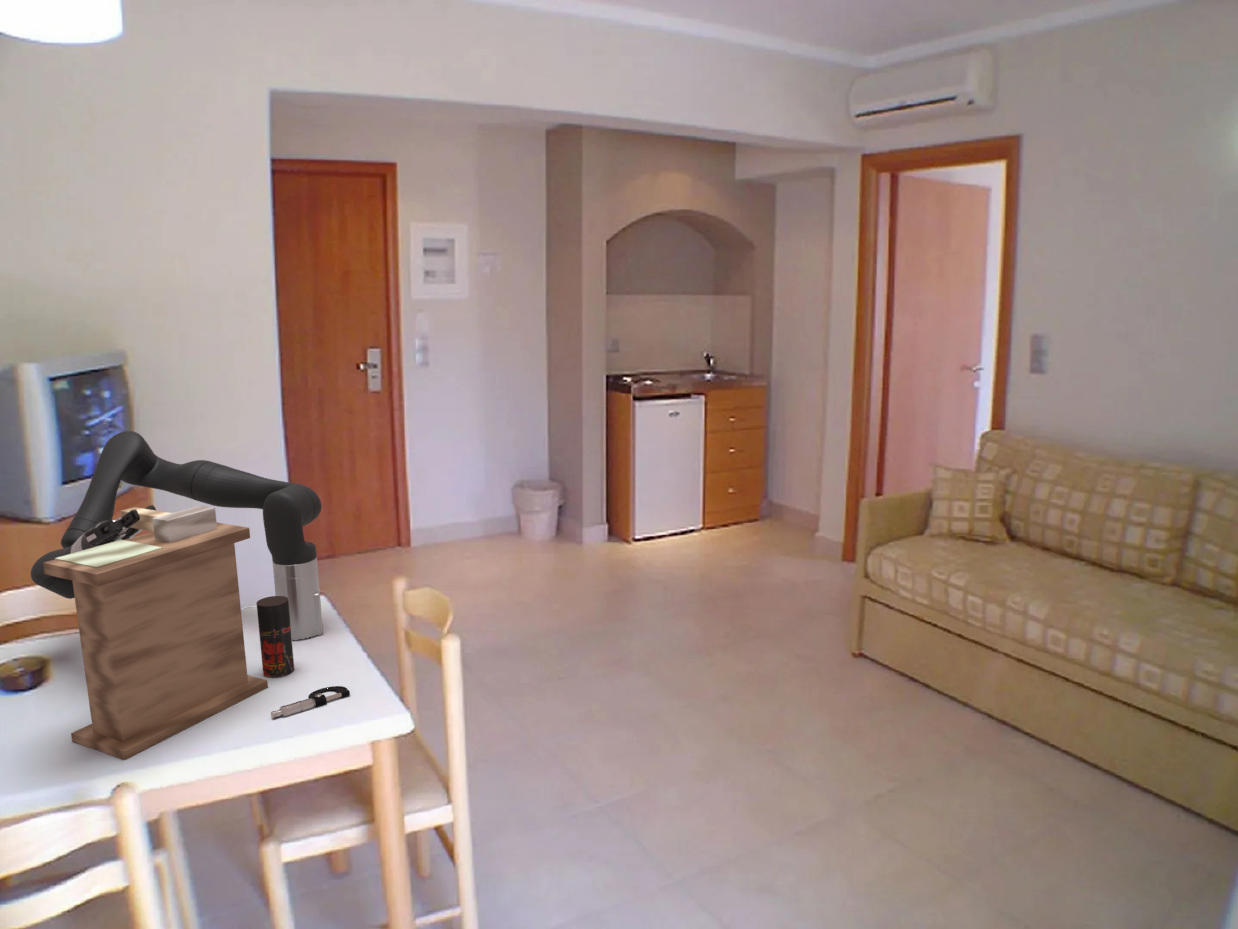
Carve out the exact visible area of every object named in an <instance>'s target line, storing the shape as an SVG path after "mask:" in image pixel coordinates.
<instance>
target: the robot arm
mask: <svg viewBox="0 0 1238 929" xmlns="http://www.w3.org/2000/svg"><path fill="white" fill-rule="evenodd" d="M121 481H122V482H124V483H125V484H129V485H133V486H137V487H142V488H143V487H144V488H150V489H156V490H159V491H165V492H168V493H171V494H175V495H177V496H181V497H185V498H187V499H188V498H189V499H191V500H193V501H197V502H200V503H203V504H207V505H210V506H215V507H217V508H218V507H220V508H227V509H229V508H232V509H233V508H234V509H257V510H262V520H263V527H264V528H263V529H264V533H265V534H264V535H265V541H266V546H267V549H268V551H269V553H270V555H271V559H272V571H273V584H274V592H275V593H274V594H275V595H274V596H284V597H287V598H288V602H289V614H290V625H291V637H292V641H298V639H302V640H304V639H303V638H307V639H310V638H309V637H311V638H313V636H314V637H316V636H315V635H317V636H320V635H319V634H322V633H323V627H322V625H323V615H322V613H323V612H322V601H321V590H320V589H321V588H320V583H319V582H320V581H319V570H318V569H319V568H318V557H317V556H318V555H317V547H316V545H315V544H314V543H313V542H312V541H306V540H305V536H304V528H303V527H305V526H307V525H308V524H310V523H312V522H313V521H315V520H316V519H317V518H318V517H319V515H320V513H321V510H322V500H321V499H320V497H319V495H318V494H317V493H316V491H315V490H313V489H312V488H310V487H309V486H306V485H304V484H301V483H294V482H288V481H284V480H283V481H282V480H276V479H272V478H271V479H270V478H267V477H263V476H259V475H257V474H253V473H250V472H248V471H244V470H240V469H236V468H233V467H231V466H227V465H224V464H221V463H217V462H213V461H210V460H205V459H197V460H192V461H188V462H185V463H182V464H181V463H176V462H172V461H169V460H166V459H164V458H161V457H160V456H158V455H156V454H155V452H154V451H153V450H152V447H150V445H149V444H148V442H147V440H145V438H144V437H143V436H142V435H141V434H140V433H138V432H135V431H133V430H126V431H121V432H118V433H116V434H114V435H113V436H112V437H110V438H109V439H108V440H107V441H106V442H105V445H104V446H103V448H102V450H101V453H100V456H99V458H98V462H97V464H96V467H95V470H94V472H93V475H92V477H91V480H90V482H89V486H88V488H87V490H86V493H85V495H84V498H83V500H82V501H81V504H80V505H79V507H78V510H77V512H76V513H75V515H74V517H73V518H72V519H71V521H70V524H69V525H68V527H67V528H66V530H65V532H64V533H63V536H62V537H61V538H60V545H61V547H62V548H60V549H56V550H52V551H50V552H49V551H48V553H47V552H46V553H45V554H43V555H42V556H40V557H39V558H37V560H36V561H35V562H34V563H33V565H32V567H31V570H30V578H31V580H32V582H33V583H34V584H35V585H37V586H39V587H41V588H44V589H45V590H48V591H49V592H52V593H54V594H57V595H58V596H60V597H62V598H65V599H70V600H72V599H75V596H74V589H73V581H72V580H68V579H64V578H59V577H55V576H50V575H46V574H45V573H44V566H43V563H44V562H47V561H51V560H54V559H55V558H57V557H61V556H64V555H68V554H72V553H75V552H79V551H82V550H86V549H90V548H93V547H97V546H100V545H104V544H108V543H111V542H115V541H118V540H126V539H130V538H133V537H136V536H137V534H139V533H141V532H143V531H144V530H142V529H136V528H130V527H131V526H132V525H133V524H135V523H136V522H137V521H139V520H140V517H139V515H138V512H137V510H136V509H134V510H131V511H130V512H128V513H127V514H126V515H124V516H123V517H121V516H119V517H117V518H116V519H115V518H114V519H113V516H114V512H115V506H116V500H117V496H118V490H119V486H120V483H121ZM144 509H149V510H156V511H157V508H156V506H154V505H153V504H151V505H150V504H149V505H148V506H147V507H145V508H144ZM322 635H323V634H322ZM296 639H297V640H296Z"/></svg>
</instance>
